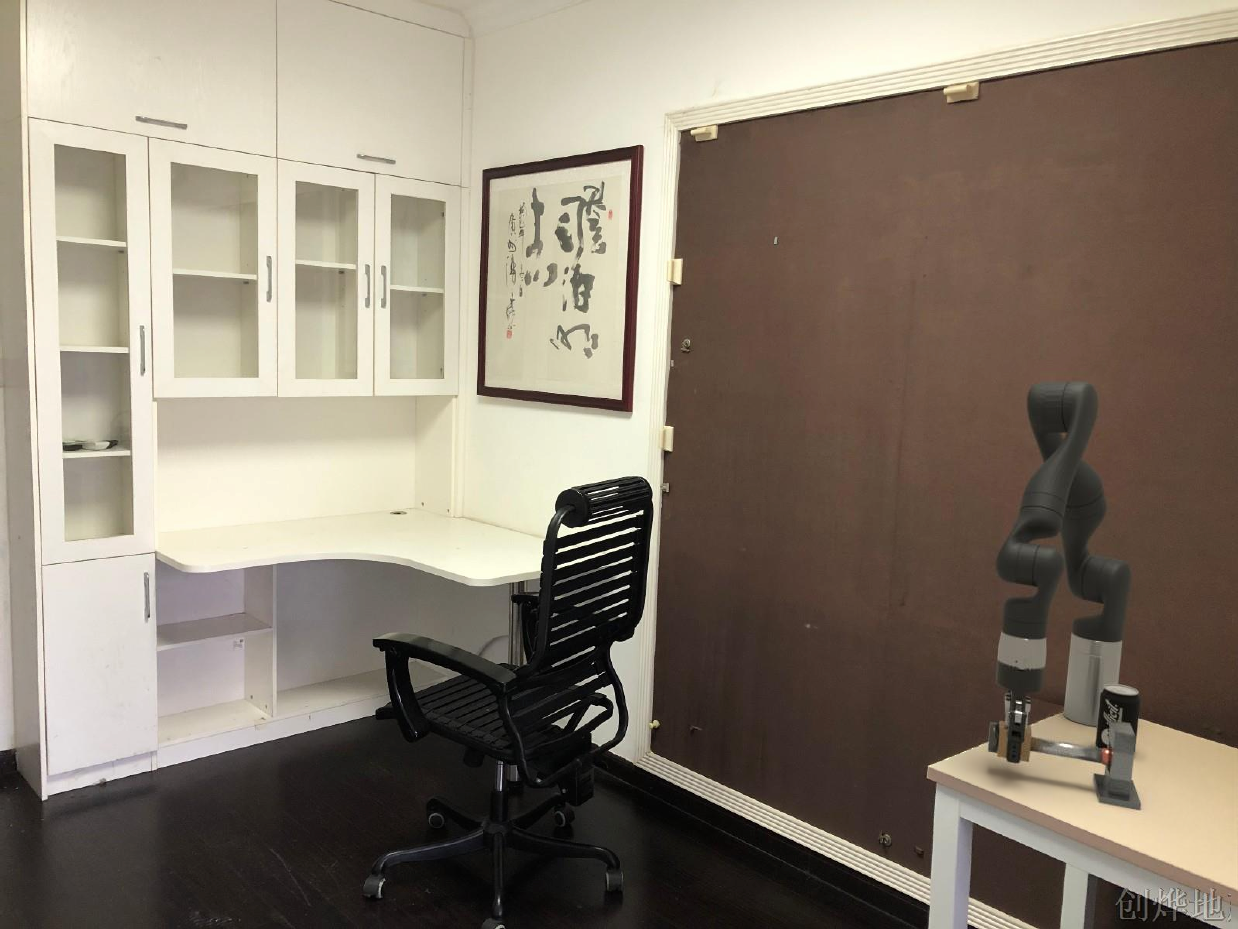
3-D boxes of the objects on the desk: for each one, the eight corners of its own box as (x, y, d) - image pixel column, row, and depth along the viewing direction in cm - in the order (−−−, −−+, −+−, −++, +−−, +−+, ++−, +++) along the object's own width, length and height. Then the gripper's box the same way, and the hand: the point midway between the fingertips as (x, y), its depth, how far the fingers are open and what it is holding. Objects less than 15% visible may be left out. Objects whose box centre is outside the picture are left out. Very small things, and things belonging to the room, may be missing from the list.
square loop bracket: (1093, 778, 166) (1099, 715, 165) (1132, 785, 164) (1138, 722, 163) (1098, 802, 157) (1105, 735, 156) (1140, 810, 155) (1147, 742, 153)
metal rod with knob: (987, 756, 165) (990, 727, 164) (988, 745, 169) (990, 718, 169) (1116, 778, 158) (1119, 749, 157) (1112, 767, 162) (1115, 738, 162)
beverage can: (1139, 760, 175) (1146, 696, 174) (1100, 756, 177) (1107, 692, 175) (1128, 747, 182) (1134, 685, 180) (1090, 742, 183) (1096, 681, 182)
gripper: (997, 646, 172) (989, 739, 174) (997, 668, 159) (989, 768, 160) (1043, 652, 169) (1034, 746, 171) (1047, 675, 156) (1038, 777, 158)
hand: (1012, 756), depth 166 cm, fingers closed on metal rod with knob, 4 cm apart
